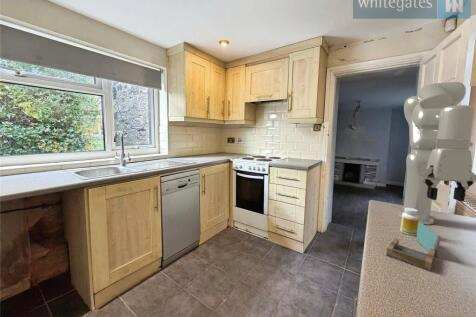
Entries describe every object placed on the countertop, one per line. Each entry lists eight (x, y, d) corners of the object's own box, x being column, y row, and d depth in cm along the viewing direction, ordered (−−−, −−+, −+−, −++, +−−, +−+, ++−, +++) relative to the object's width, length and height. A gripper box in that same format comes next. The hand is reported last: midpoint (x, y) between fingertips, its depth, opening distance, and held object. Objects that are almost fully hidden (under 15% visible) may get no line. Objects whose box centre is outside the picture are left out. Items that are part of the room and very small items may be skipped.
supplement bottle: (420, 236, 80) (423, 212, 79) (404, 235, 81) (407, 211, 80) (412, 230, 85) (414, 207, 84) (397, 229, 87) (399, 206, 85)
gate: (419, 240, 77) (421, 222, 76) (438, 258, 66) (441, 237, 65) (415, 240, 77) (417, 222, 77) (433, 257, 66) (436, 236, 66)
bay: (394, 244, 74) (394, 237, 74) (433, 257, 66) (434, 250, 66) (386, 255, 67) (387, 248, 67) (430, 271, 59) (431, 263, 59)
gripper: (472, 145, 69) (464, 197, 71) (413, 144, 72) (408, 194, 74) (496, 146, 62) (487, 205, 64) (430, 145, 64) (423, 201, 66)
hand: (444, 199), depth 69 cm, fingers open, 7 cm apart
